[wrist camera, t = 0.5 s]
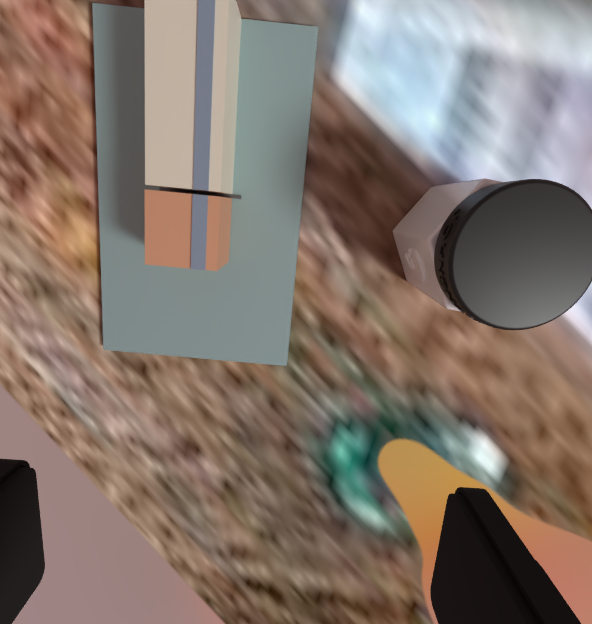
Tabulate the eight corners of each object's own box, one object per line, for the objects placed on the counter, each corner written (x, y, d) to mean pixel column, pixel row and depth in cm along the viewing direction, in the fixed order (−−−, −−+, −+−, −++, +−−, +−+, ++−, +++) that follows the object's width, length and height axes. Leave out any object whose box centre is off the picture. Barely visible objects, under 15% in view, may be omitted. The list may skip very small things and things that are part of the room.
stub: (168, 192, 31) (143, 189, 26) (232, 198, 31) (219, 196, 26) (167, 255, 32) (144, 264, 27) (228, 261, 32) (216, 271, 28)
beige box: (170, 11, 28) (143, -31, 23) (241, 18, 28) (229, -22, 23) (168, 188, 31) (144, 184, 26) (232, 194, 31) (220, 191, 26)
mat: (96, 6, 29) (91, 2, 28) (318, 30, 29) (318, 26, 28) (106, 347, 35) (103, 349, 35) (286, 363, 36) (286, 366, 35)
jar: (381, 204, 32) (428, 203, 20) (480, 168, 31) (588, 145, 20) (411, 306, 34) (469, 357, 23) (504, 274, 33) (615, 310, 22)
